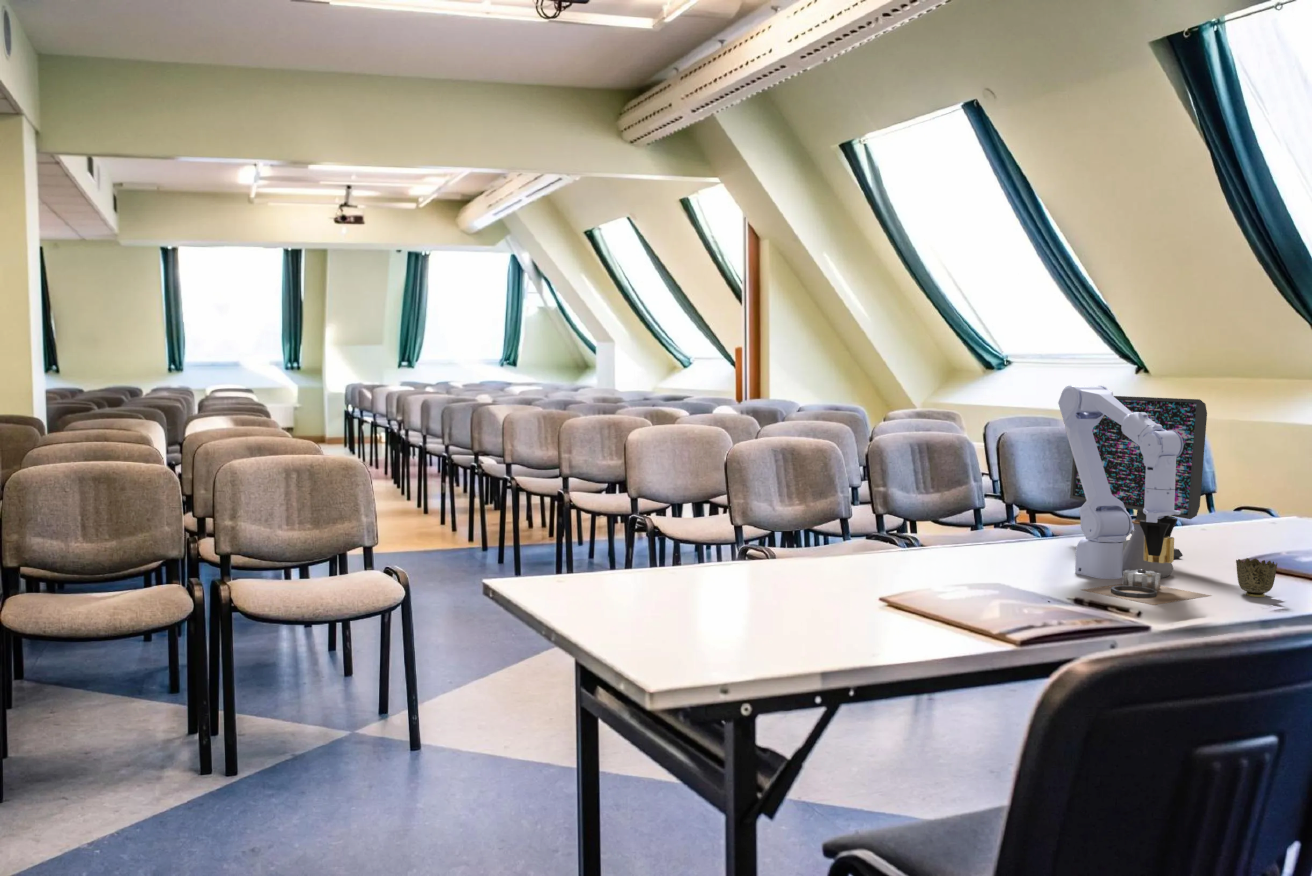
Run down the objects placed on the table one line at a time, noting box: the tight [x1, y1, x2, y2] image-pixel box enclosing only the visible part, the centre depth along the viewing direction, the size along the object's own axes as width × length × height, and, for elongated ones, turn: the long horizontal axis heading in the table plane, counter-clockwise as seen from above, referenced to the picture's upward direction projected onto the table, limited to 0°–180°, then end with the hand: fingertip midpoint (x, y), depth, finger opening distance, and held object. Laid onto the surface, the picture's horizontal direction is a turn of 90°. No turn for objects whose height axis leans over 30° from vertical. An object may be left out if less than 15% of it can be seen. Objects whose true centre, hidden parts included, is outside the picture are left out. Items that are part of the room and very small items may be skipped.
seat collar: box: [1111, 586, 1157, 598], centre depth 231 cm, size 9×9×1 cm
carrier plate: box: [1081, 583, 1213, 606], centre depth 233 cm, size 17×19×1 cm
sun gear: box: [1122, 569, 1161, 590], centre depth 239 cm, size 7×7×4 cm
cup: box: [1235, 557, 1278, 598], centre depth 231 cm, size 8×7×8 cm
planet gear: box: [1143, 536, 1175, 564], centre depth 236 cm, size 6×6×5 cm
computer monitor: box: [1069, 395, 1208, 559], centre depth 286 cm, size 44×16×40 cm, turn 17°
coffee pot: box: [1122, 519, 1174, 579], centre depth 258 cm, size 21×12×15 cm, turn 33°
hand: (1157, 553), depth 236 cm, fingers closed on planet gear, 6 cm apart
